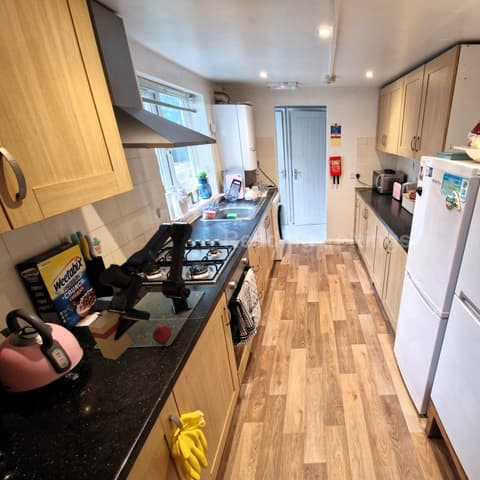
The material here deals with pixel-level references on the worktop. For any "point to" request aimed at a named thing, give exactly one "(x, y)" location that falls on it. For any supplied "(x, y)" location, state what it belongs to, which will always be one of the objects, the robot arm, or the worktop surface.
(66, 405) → the worktop surface
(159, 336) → the onion
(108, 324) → the box
